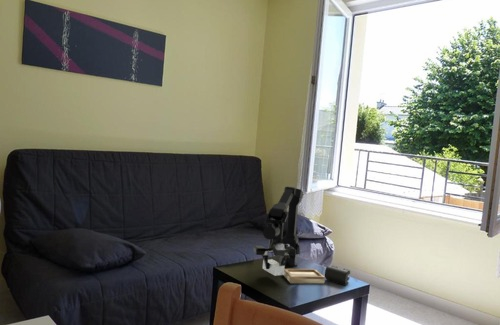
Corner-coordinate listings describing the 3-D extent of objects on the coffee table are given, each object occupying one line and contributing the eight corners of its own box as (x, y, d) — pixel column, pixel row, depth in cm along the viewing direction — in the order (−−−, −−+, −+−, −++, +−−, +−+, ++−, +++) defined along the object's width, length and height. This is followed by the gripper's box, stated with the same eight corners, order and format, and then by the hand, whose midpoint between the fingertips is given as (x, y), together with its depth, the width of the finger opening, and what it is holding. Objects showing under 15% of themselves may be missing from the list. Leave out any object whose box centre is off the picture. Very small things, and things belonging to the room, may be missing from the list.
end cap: (323, 281, 180) (325, 267, 180) (329, 277, 186) (330, 263, 186) (344, 287, 175) (346, 272, 174) (349, 283, 180) (351, 269, 180)
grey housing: (262, 268, 180) (263, 260, 180) (271, 267, 182) (272, 259, 182) (274, 275, 171) (275, 266, 171) (283, 274, 174) (284, 265, 174)
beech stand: (283, 274, 184) (283, 268, 184) (314, 275, 188) (315, 268, 188) (290, 283, 173) (291, 276, 173) (324, 283, 177) (324, 276, 177)
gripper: (260, 239, 166) (257, 275, 167) (302, 240, 170) (298, 275, 171) (254, 232, 177) (251, 266, 177) (293, 234, 181) (290, 267, 182)
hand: (273, 269), depth 177 cm, fingers closed on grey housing, 6 cm apart
